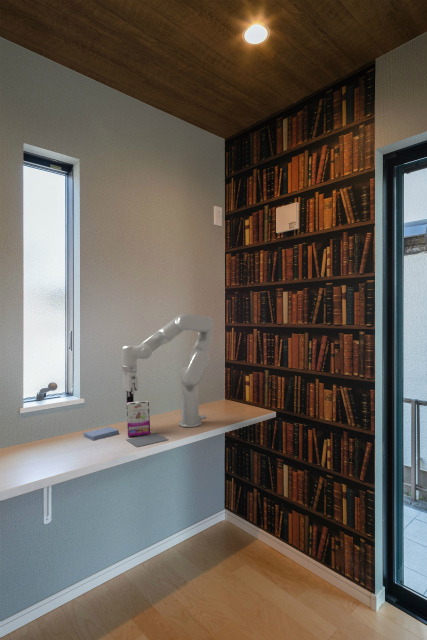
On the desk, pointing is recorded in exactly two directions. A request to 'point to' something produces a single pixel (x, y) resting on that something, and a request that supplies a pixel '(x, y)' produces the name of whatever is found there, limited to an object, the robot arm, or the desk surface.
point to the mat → (147, 440)
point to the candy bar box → (138, 418)
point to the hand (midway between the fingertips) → (130, 404)
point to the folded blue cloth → (101, 433)
